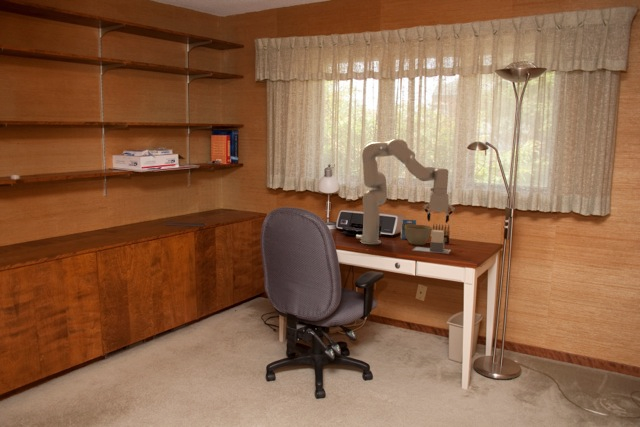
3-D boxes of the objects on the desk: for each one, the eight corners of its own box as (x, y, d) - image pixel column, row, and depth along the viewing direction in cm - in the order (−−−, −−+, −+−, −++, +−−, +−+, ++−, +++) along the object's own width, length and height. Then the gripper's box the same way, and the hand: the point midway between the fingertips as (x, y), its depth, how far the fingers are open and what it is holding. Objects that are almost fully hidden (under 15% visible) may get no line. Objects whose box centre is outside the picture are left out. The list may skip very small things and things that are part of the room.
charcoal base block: (429, 251, 313) (430, 242, 313) (431, 248, 320) (432, 240, 319) (442, 252, 311) (443, 243, 310) (444, 249, 318) (444, 241, 317)
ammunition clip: (431, 242, 344) (432, 223, 342) (431, 242, 346) (432, 223, 344) (449, 244, 341) (450, 224, 339) (449, 243, 343) (450, 224, 341)
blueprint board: (411, 252, 314) (411, 250, 314) (415, 248, 325) (415, 246, 325) (448, 255, 308) (448, 253, 307) (450, 251, 319) (451, 249, 319)
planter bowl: (398, 243, 338) (398, 225, 336) (415, 241, 348) (416, 223, 347) (418, 248, 326) (419, 229, 324) (436, 245, 336) (437, 227, 335)
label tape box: (414, 238, 359) (415, 219, 357) (415, 239, 355) (416, 219, 353) (400, 237, 358) (401, 218, 357) (401, 239, 354) (402, 219, 353)
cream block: (431, 242, 313) (431, 231, 312) (432, 240, 318) (433, 229, 318) (442, 243, 311) (442, 232, 310) (443, 241, 317) (444, 230, 316)
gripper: (423, 190, 310) (421, 221, 313) (455, 192, 305) (452, 224, 307) (425, 189, 317) (423, 219, 320) (456, 191, 312) (454, 222, 314)
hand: (437, 221), depth 313 cm, fingers open, 9 cm apart
